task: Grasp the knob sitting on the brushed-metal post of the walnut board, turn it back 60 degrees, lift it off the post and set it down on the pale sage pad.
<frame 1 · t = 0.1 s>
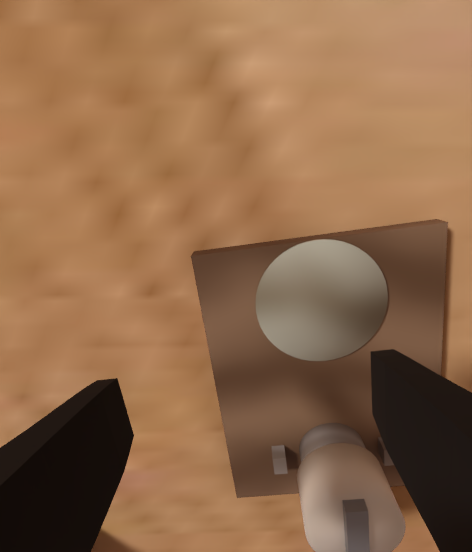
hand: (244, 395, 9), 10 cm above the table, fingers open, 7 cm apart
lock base: (322, 371, 21), on the table
knob: (339, 476, 19), point 3 cm above the table, touching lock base
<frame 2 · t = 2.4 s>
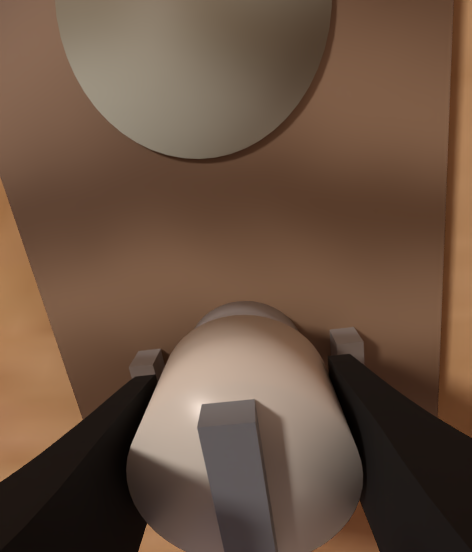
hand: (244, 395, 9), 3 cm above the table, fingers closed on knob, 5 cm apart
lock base: (225, 206, 11), on the table
knob: (244, 391, 10), point 3 cm above the table, touching gripper, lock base
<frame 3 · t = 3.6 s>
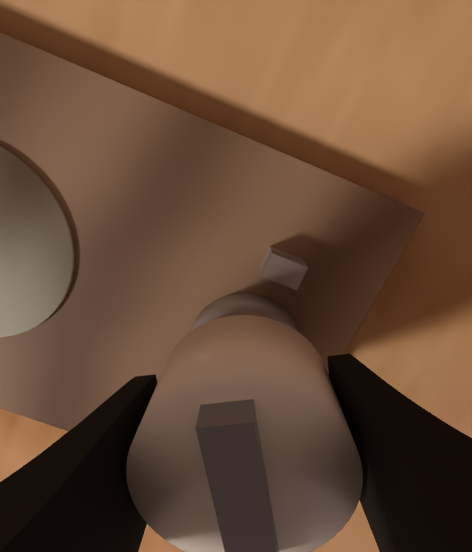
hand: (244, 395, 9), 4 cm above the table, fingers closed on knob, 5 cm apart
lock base: (123, 285, 13), on the table
knob: (244, 391, 10), point 4 cm above the table, touching gripper
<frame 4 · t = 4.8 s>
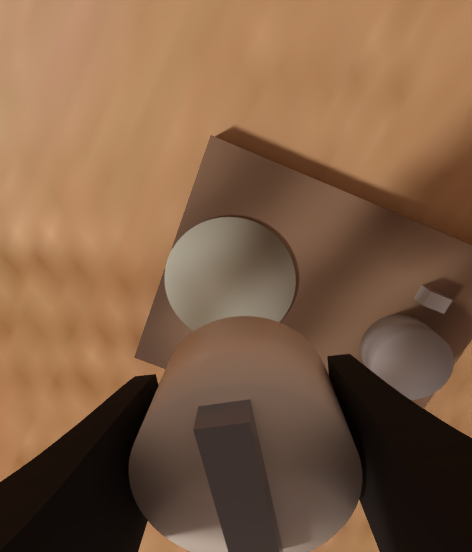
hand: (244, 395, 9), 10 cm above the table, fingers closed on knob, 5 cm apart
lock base: (311, 308, 19), on the table
knob: (245, 391, 10), point 10 cm above the table, touching gripper
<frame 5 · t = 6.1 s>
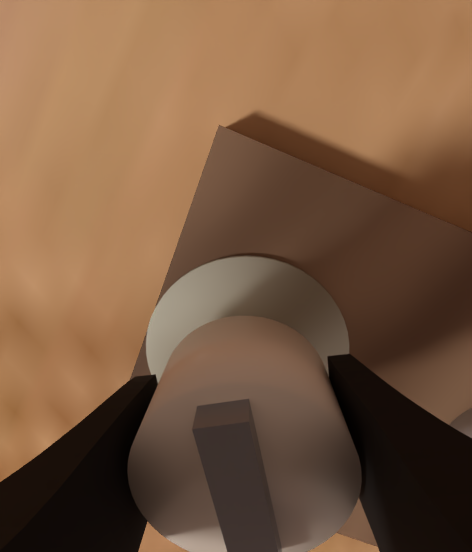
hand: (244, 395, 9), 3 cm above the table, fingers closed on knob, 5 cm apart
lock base: (365, 383, 13), on the table
knob: (245, 391, 10), point 3 cm above the table, touching gripper
when the fingers open (3 cm above the table, at t = 7.2 s): knob drops 1 cm, resting on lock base.
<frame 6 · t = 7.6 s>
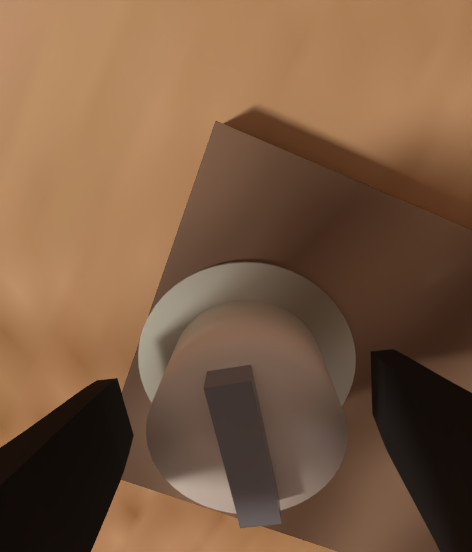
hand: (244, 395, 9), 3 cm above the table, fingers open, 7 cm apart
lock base: (371, 395, 12), on the table
knob: (246, 368, 11), point 1 cm above the table, touching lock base
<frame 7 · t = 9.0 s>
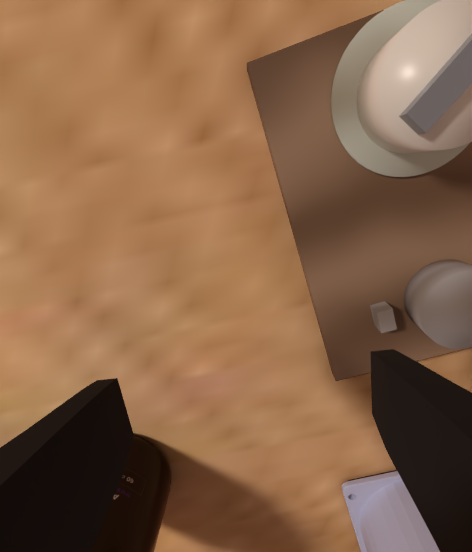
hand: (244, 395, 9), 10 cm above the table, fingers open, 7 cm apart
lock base: (418, 201, 17), on the table
supplement bottle: (125, 465, 24), on the table
knob: (412, 95, 15), point 1 cm above the table, touching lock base
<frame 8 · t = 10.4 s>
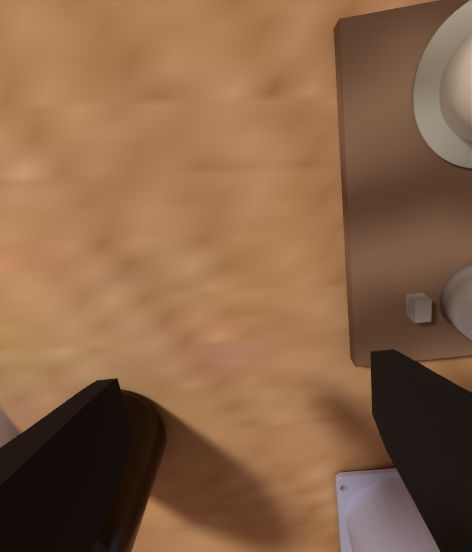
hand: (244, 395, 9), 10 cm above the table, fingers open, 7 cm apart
supplement bottle: (118, 425, 23), on the table
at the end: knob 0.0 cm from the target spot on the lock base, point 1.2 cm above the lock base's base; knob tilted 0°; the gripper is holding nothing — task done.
